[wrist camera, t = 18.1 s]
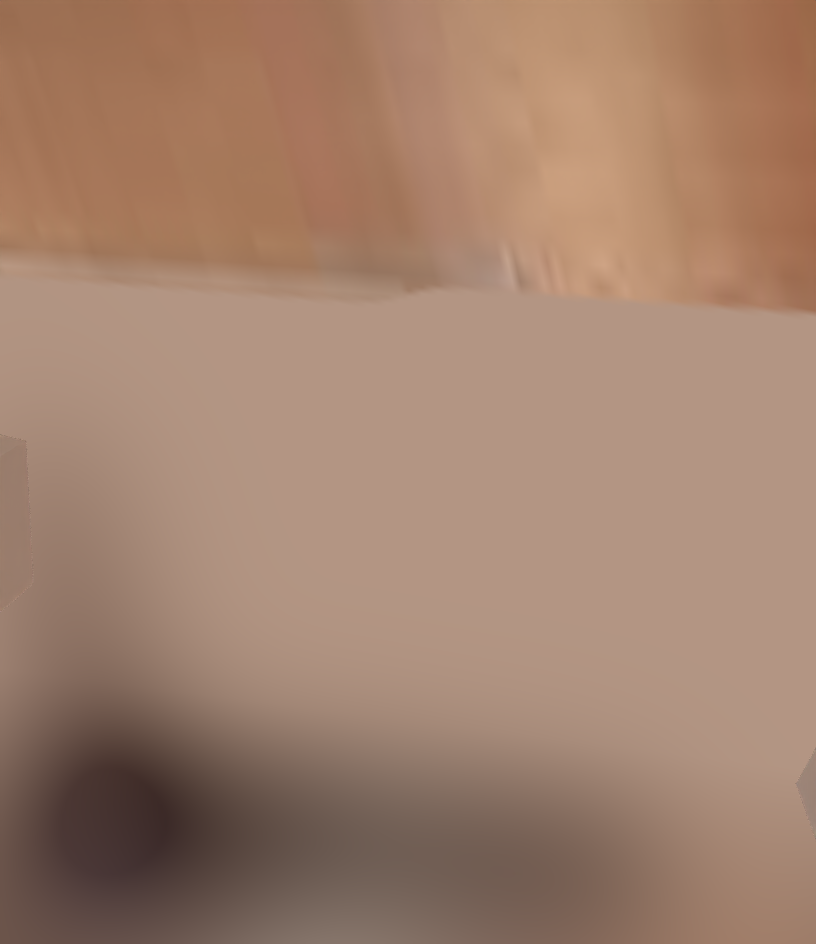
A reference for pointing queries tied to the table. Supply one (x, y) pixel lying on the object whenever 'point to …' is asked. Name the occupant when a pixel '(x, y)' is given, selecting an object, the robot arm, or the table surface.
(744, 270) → the table surface
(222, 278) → the table surface
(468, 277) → the table surface
